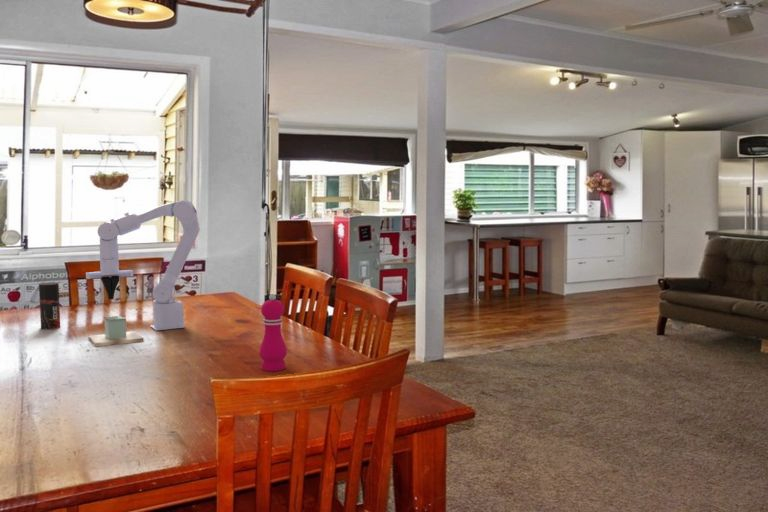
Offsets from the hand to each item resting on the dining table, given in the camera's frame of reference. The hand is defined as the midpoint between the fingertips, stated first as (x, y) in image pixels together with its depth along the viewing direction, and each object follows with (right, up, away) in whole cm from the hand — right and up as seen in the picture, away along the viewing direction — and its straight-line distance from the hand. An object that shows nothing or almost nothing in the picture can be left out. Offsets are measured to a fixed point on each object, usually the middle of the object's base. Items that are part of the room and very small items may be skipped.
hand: (110, 298), depth 227 cm
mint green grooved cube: (+7, -11, -14) cm, 20 cm away
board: (+7, -12, -14) cm, 20 cm away
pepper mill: (+62, -16, -46) cm, 79 cm away
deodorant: (-22, -10, +4) cm, 24 cm away
